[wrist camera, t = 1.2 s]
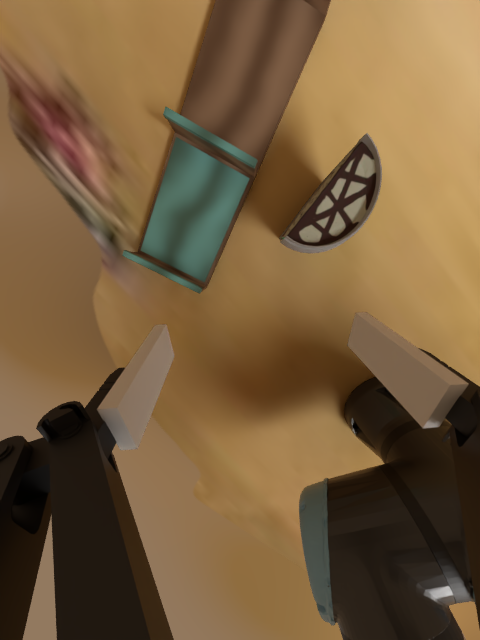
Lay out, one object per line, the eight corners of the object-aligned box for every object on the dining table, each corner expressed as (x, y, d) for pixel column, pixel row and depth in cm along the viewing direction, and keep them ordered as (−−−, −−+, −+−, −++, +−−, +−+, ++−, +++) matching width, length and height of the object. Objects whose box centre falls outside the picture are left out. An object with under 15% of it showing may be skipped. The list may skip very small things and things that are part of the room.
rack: (324, 19, 23) (342, -36, 19) (206, 288, 33) (199, 293, 29) (233, -42, 22) (230, -117, 18) (139, 256, 32) (122, 255, 28)
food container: (301, 270, 32) (324, 275, 22) (272, 246, 31) (283, 240, 21) (359, 202, 29) (415, 173, 19) (329, 172, 28) (371, 126, 18)
